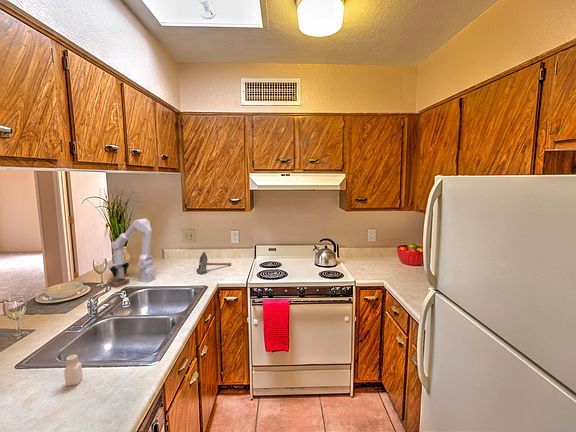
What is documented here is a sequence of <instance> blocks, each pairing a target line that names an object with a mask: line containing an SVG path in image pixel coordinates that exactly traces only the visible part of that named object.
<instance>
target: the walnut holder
mask: <svg viewBox="0 0 576 432" xmlns="http://www.w3.org/2000/svg"><path fill="white" fill-rule="evenodd" d="M106 284H107V287H111V288H117V289H118V288H120V287H123V286H125V285H128V284H130V279H129V278H125V277H124V278H121V277H120V278H116V277H115V278H113V279H111V280H107V282H106Z"/></svg>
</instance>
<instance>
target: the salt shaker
mask: <svg viewBox="0 0 576 432" xmlns="http://www.w3.org/2000/svg"><path fill="white" fill-rule="evenodd" d="M78 356H79V355H78V354H71V355H68V356H67V357H66V358H65V360H66V361H65V362H66V366H65V368H64V370H63V372H64V381H65V382H64V383H65V386H66V387H68V386H77V385H78V384H80V382H81V381H82V379H83V368H82V367H83V366H82V362H80V361H79V357H78Z"/></svg>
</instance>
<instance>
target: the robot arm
mask: <svg viewBox="0 0 576 432" xmlns="http://www.w3.org/2000/svg"><path fill="white" fill-rule="evenodd" d="M150 224H151V222H150V220H149V219H148V218H145V217H144V218H141V219H135V220H134V221H132V222H131V225H130V226H129V227H128V228H127V229H126V231H125V232H124V233H120V234H119V236H118V238H115V241H112V242H111V244H110V246H111V249H113V261H114V263H112V264H110V265H109V264H108V269H109V270H110V271H111V274H112V275H113V278H116V270H117V267H124V275H125V274H126V275H127V271H128V268H129V266H130V260H124V253H123V251H124V246H125V244H126V242H127V241H128V240H130V236H131V234H133V233H135V231H136V230H138V231H139V232H141V233H142V240H141V241H142V243H141V244H142V245H141V255H140V256H139V258H138V261H137V268H139V270H140V271H139V272H140V278H139V279H137V281H138V282H139V281H140V282H145V283H149V282H151V281H154V280H157V277H156V270H155V269H154V268H153V267H152V265H153V263H154V260H153V255H151V246H152V233H153V232H152V231H153V230H152V227H151V225H150Z"/></svg>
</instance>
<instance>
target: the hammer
mask: <svg viewBox="0 0 576 432" xmlns="http://www.w3.org/2000/svg"><path fill="white" fill-rule="evenodd" d="M208 266H232V262H208V256H207V253H206V252H204V251H203V252H202V254H201V256H200V257H199V262H198V268H197V269H196V273H198V274H202V275H203V274H207V273H208V270H207V267H208Z"/></svg>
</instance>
